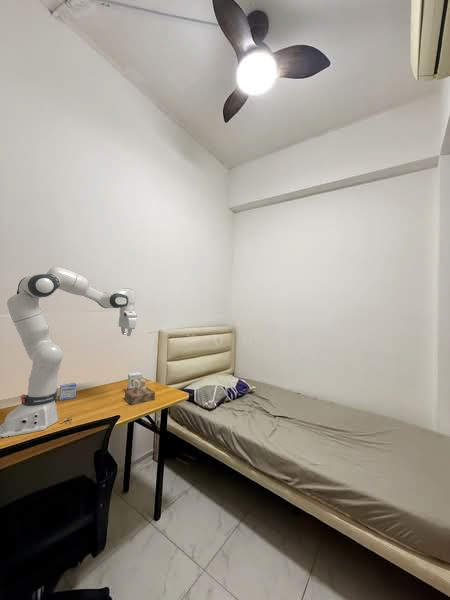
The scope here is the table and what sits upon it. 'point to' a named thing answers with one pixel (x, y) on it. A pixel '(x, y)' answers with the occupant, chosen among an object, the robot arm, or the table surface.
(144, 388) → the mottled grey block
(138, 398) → the walnut block
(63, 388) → the medicine box
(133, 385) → the ink box
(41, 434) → the table surface
